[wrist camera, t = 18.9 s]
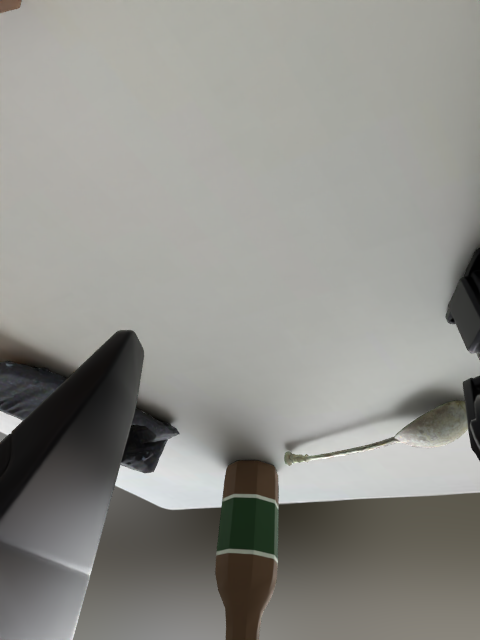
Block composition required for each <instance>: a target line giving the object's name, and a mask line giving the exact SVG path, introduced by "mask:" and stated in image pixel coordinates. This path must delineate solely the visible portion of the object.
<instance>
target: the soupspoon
mask: <svg viewBox="0 0 480 640" xmlns="http://www.w3.org/2000/svg"><path fill="white" fill-rule="evenodd" d="M467 430H468V423H467V414H466V406H465V401H460V400H456V401H450V402H447V403H445V404H443V405H440V406H438V407H436V408H434V409H433V410H431V411H429V412H427V413H425V414H424V415H422V416H421V417H419V418H417V419H416V420H414V421H413V422H411V423H410V424H408V425H407V426H406V427H404V428H403V429H402V430H401V431H400V432H398V433H397V434H396V436H395V437H392V438H389V439H386V440H383V441H380V442H376V443H373V444H369V445H365V446H361V447H356V448H352V449H347V450H342V451H337V452H332V453H327V454H321V455H315V456H308V455H307V454H306V455H305V456H303V455H295V454H292V453H291V452H290V451H288V452H286V453H285V457H284V460H285V463H286V464H287V465H289V466H290V465H292V463H296V462H299V463H301V462H303V461H305V462H309V460H317V459H325V458H332V457H337V456H342V455H348V454H353V453H358V452H364V451H368V450H373V449H377V448H381V447H384V446H388V445H391V444H394V443H398V442H401V443H404V444H406V445H410V446H414V447H421V448H432V447H439V446H443V445H446V444H449V443H451V442H453V441H455V440H456V439H458V438H459V437H461V436H462V435H463V434H464V433H465V432H466V431H467Z"/></svg>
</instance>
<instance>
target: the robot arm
mask: <svg viewBox="0 0 480 640" xmlns="http://www.w3.org/2000/svg"><path fill="white" fill-rule="evenodd" d="M448 307H449V309H448V312H447V314H446V319H447V322H448V323H450V324H456V325H457V327H458V330H459V332H460V334H461V337H462V339H463V341H464V343H465V346H466V348H467V350H468V351H469V352H470V353H477V355H478V358H479V360H480V248H478V249H477V250H476V251H475V252H474V254H473V256H472V258H471V260H470V263H469V265H468V267H467V269H466V272H465V274H464V276H463V277H462V278H461V279H460V281H459V283H458V285H457V287H456V290H455V292H454V294H453V296H452V299H451V301H450V303H449V305H448ZM143 360H144V350H143V347H142V345H141V343H140V341H139V339H138V337H137V335H136V333H135V332H134V331H132V330H120V331H117V332H116V333H115V334H114V335H113V336H112V337H111V338H110V339H108V340H107V341H106V342H105V343H104V344H103V345H102V346H101V347H100V348H99V349H98V350H97V351H96V352H95V353H94V354H93V355H92V356H91V357H90V358H89V359H87V360H86V361H85V362H84V363H83V364H82V365H81V366H80V367H79V368H78V369H77V370H76V371H75V372H74V373H73V374H72V375H71V376H70V377H69V378H68V379H66V380H65V381H64V382H63V383H62V384H61V385H60V386H59V387H58V388H57V389H56V390H55V391H54V392H53V393H52V394H51V395H50V396H49V397H48V398H47V399H45V400H44V401H43V402H42V403H41V404H40V405H39V406H38V407H37V408H36V409H35V410H34V411H33V412H32V413H31V414H30V415H29V416H28V417H27V418H26V419H24V420H23V421H22V422H21V423H20V424H19V425H18V426H17V427H16V428H15V429H14V430H13V431H12V433H11V434H9V435H8V436H7V437H5V438H4V439H3V440H2V441H1V442H0V640H72V639H73V636H74V632H75V628H76V624H77V621H78V618H79V614H80V610H81V607H82V603H83V599H84V596H85V592H86V588H87V584H88V581H89V578H90V576H89V574H90V573H91V569H92V566H93V562H94V559H95V554H96V551H97V548H98V544H99V540H100V537H101V533H102V530H103V526H104V522H105V519H106V515H107V511H108V507H109V504H110V500H111V497H112V493H113V490H114V486H115V482H116V479H117V475H118V471H119V468H120V464H121V460H122V457H123V453H124V450H125V446H126V442H127V439H128V435H129V431H130V428H131V424H132V420H133V417H134V413H135V409H136V404H137V399H138V392H139V386H140V379H141V373H142V366H143ZM463 389H464V398H465V406H466V414H467V423H468V431H469V437H470V443H471V448H472V450H473V451H474V453H475V454H476V455H477V457H478V459H479V460H480V376H478V377H476V378H474V379H473V378H470V379H468V380H466V381H464V382H463Z"/></svg>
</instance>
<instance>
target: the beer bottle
mask: <svg viewBox="0 0 480 640" xmlns="http://www.w3.org/2000/svg"><path fill="white" fill-rule="evenodd" d="M278 499H279V486H278V475H277V472H276V470H275V467H274V466H273V465H270V464H267V463H264V462H261V461H258V460H238V461H236V462H234V463H232V464H231V465H229V466H228V467H227V469H226V475H225V481H224V490H223V499H222V508H221V518H220V526H219V536H218V545H217V553H216V580H217V585H218V591H219V593H220V596H221V598H222V601H223V604H224V606H225V611H226V640H259V630H260V625H261V619H262V614H263V611H264V610H265V608H266V606H267V604H268V603H269V601H270V599H271V597H272V594H273V591H274V588H275V584H276V578H277V567H278Z"/></svg>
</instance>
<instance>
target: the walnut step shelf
mask: <svg viewBox="0 0 480 640" xmlns="http://www.w3.org/2000/svg"><path fill="white" fill-rule="evenodd" d="M21 1H22V0H0V13H3V12H6V11H10V10H14V9H18V8H20V5H21Z"/></svg>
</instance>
